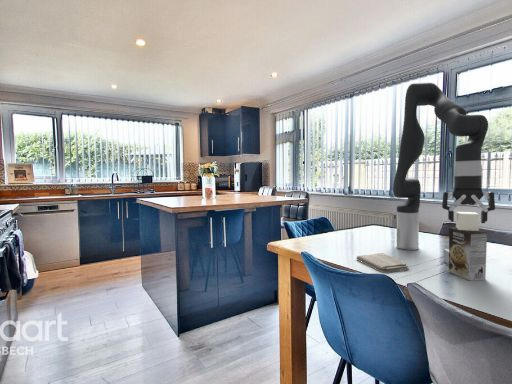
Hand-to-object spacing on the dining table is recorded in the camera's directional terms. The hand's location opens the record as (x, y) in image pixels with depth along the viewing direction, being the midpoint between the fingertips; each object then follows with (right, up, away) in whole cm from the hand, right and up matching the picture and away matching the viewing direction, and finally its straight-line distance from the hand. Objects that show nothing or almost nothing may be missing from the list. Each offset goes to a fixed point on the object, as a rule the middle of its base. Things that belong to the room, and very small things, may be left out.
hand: (467, 222), depth 97 cm
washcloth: (-23, -19, +15) cm, 33 cm away
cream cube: (0, -2, 0) cm, 2 cm away
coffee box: (0, -19, +1) cm, 19 cm away
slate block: (+5, -18, +14) cm, 23 cm away
